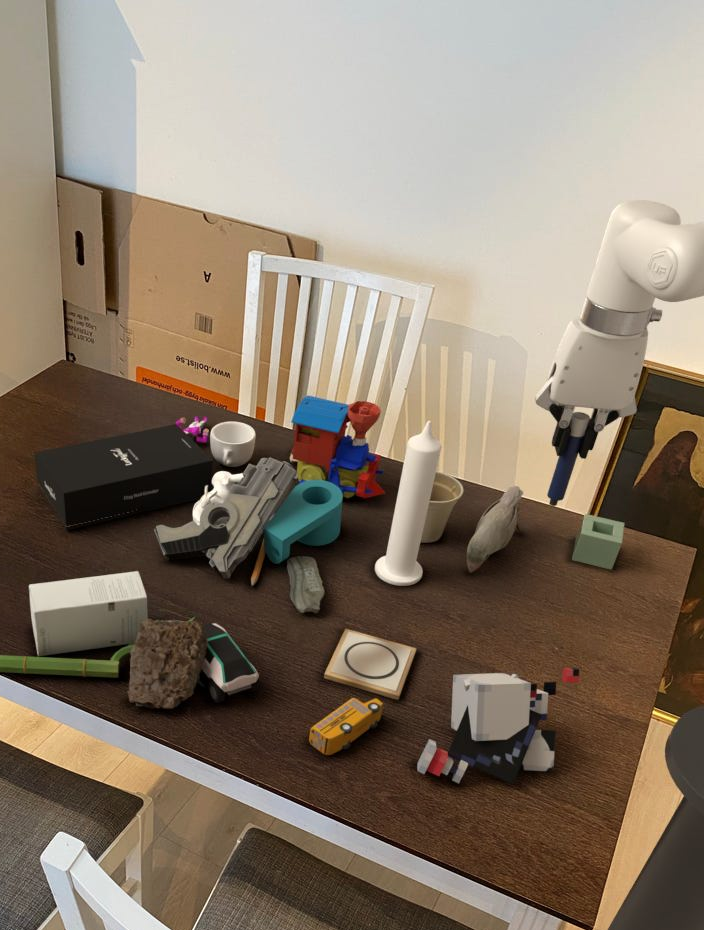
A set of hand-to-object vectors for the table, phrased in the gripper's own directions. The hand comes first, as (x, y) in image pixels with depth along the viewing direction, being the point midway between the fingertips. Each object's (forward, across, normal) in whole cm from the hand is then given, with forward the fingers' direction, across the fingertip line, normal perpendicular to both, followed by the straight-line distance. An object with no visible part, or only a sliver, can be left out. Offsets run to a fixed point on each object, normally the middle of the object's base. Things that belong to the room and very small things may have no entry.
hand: (570, 451), depth 123 cm
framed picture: (+23, +22, +21) cm, 38 cm away
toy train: (+23, +29, -23) cm, 43 cm away
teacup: (+23, +47, -26) cm, 59 cm away
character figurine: (+23, +55, -33) cm, 68 cm away
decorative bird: (+23, +5, -10) cm, 26 cm away
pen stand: (+23, -12, -11) cm, 28 cm away
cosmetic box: (+19, +53, +19) cm, 60 cm away
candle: (+23, +19, -1) cm, 30 cm away
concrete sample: (+17, +48, +32) cm, 60 cm away
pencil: (+23, +38, -12) cm, 46 cm away
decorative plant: (+20, +74, +30) cm, 82 cm away
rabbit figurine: (+23, +46, -8) cm, 52 cm away
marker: (+8, 0, 0) cm, 8 cm away
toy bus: (+22, +24, +35) cm, 47 cm away
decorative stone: (+23, +33, -33) cm, 52 cm away
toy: (+17, +14, +31) cm, 38 cm away
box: (+23, +63, -14) cm, 69 cm away
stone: (+22, +30, +6) cm, 37 cm away
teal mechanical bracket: (+20, +31, -3) cm, 37 cm away
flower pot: (+23, +15, -12) cm, 30 cm away
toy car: (+23, +42, +26) cm, 55 cm away
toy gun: (+16, +53, -6) cm, 55 cm away
